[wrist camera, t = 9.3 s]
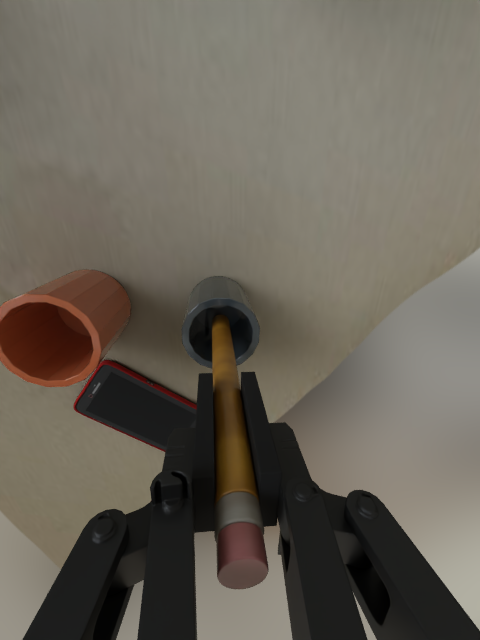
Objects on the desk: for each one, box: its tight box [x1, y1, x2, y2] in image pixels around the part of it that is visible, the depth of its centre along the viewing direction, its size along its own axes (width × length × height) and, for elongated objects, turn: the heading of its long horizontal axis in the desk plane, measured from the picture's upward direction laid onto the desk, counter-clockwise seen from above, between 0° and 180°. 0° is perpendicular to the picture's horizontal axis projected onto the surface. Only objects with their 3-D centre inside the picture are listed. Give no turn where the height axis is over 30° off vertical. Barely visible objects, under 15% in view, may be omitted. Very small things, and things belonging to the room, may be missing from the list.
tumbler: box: [182, 276, 260, 368], centre depth 27 cm, size 6×6×8 cm
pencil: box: [212, 315, 268, 589], centre depth 17 cm, size 2×2×20 cm
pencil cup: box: [0, 269, 131, 387], centre depth 25 cm, size 8×8×9 cm
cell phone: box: [74, 360, 197, 452], centre depth 34 cm, size 8×15×1 cm, turn 54°
